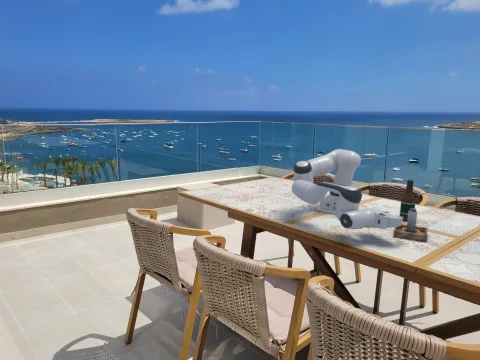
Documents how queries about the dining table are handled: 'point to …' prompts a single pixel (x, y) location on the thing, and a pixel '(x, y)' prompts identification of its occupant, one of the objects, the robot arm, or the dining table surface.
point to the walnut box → (417, 236)
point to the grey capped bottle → (411, 220)
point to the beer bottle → (407, 201)
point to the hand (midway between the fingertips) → (394, 215)
